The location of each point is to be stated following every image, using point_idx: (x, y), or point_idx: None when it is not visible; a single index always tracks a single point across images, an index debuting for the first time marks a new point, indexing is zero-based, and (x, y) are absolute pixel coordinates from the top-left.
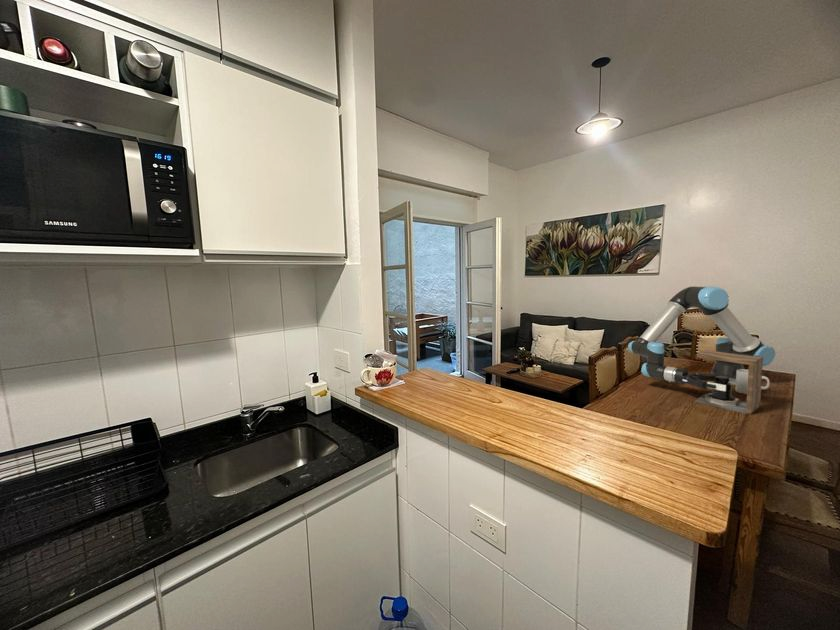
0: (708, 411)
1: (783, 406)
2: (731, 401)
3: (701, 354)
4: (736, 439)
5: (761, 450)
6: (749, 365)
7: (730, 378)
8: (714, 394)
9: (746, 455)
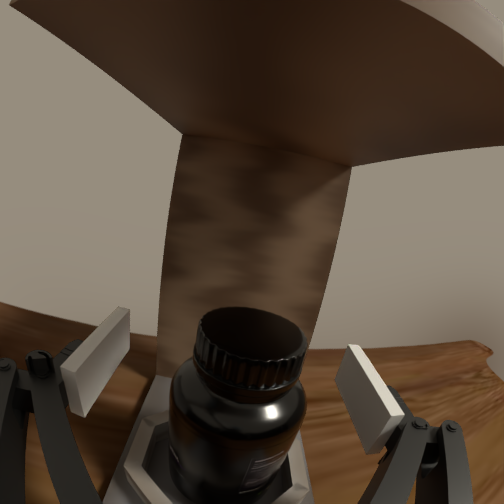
0: None
1: None
2: None
3: None
4: (472, 373)
5: (461, 352)
6: (349, 170)
7: (112, 323)
8: (277, 472)
9: (489, 355)
